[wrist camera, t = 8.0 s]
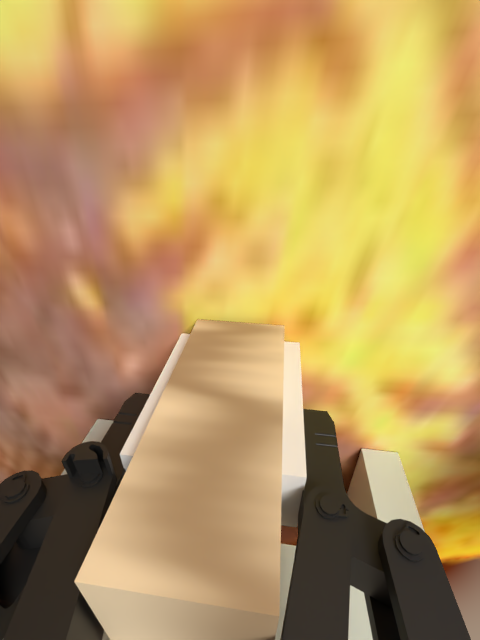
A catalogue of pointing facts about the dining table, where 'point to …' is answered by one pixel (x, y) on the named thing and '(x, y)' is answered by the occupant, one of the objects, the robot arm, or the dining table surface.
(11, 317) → the dining table surface
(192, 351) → the mallet
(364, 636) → the white miniature cabinet
